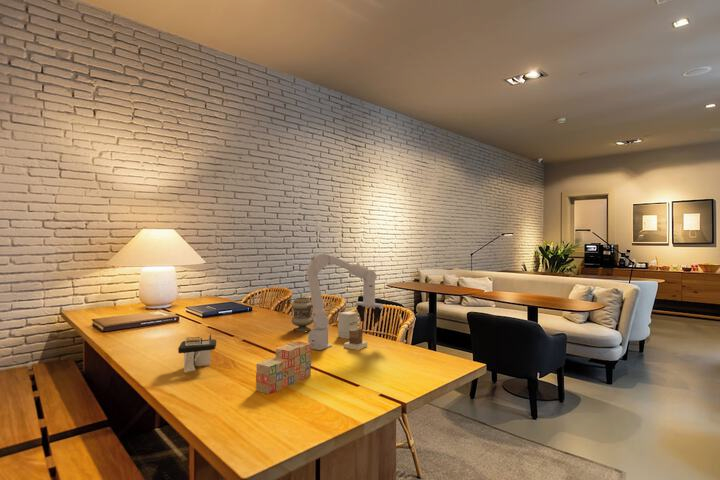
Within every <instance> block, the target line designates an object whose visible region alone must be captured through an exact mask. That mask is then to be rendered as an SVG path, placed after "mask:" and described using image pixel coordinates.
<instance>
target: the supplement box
mask: <svg viewBox="0 0 720 480" xmlns="http://www.w3.org/2000/svg"><path fill="white" fill-rule="evenodd" d="M337 320H338V321H337V322H338V324H337V326H338V327H337V328H338V329H337V337H338V338H341V339H346V340H349V330H351V329H354V328H355V329H358V312H357V311H356V312H355V311H343V312H341V311H340V312H338V316H337Z"/></svg>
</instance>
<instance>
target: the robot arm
mask: <svg viewBox="0 0 720 480" xmlns="http://www.w3.org/2000/svg"><path fill="white" fill-rule="evenodd" d="M328 265H329V266H333V265H334V266H337V267H339V268H342V269H345V270H347V271H348V273H349V274H350V275H352V276H353V277H354V276H355V277H356V278H359V279H362V280H363V285H362V286H363V287H362V288H363V293H362V295H363V297H362V298H363V299H362V301H355V306H356V307H355V308H356V312H357V314H358V315H359V318H360V322H364V321H365V312H366V308H372V312H373V322H374V324H377V323H378V321H379V317H380V315H381V313H382V311H383V309H384V304H383V303H378V302H376V280H377V278H378V276H377V273H376V271H374V270H372V269H369V267H368V266H363V265H360V262H356V263H355V262H353V263H349V262H347V261H344V260H343V259H341V258H338V257H336V256H334V255H329V254H326V253H321V252H317V253H315V254H314V255H313V256H312V257H311V258H310V262H309V264H308V267H307V269H306V275H307V277H306V278H307V280H308V281H307V282H308V287H309V292H310V299H311V302H312V304H313V307H312V312H313V313H312V314H313V315H312V317H313V322H312V323H314V324H313V326H312V328H311V331H309V332H308V340H307V341H308V342H307V343H310V344H311V350H317V351H321V350H324V349H327V348H330V347H332V346H333V345H332V344H329V324H330V320H329V317H328V315H327V314H326V311H325V308H324V303H323V297H322V291H321V287H320V281H319V273H320V272H321V271H322V270H323V269H324V268H326V267H327V266H328Z"/></svg>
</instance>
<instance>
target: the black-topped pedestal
mask: <svg viewBox="0 0 720 480" xmlns="http://www.w3.org/2000/svg"><path fill="white" fill-rule="evenodd" d="M216 348H217V339H213V338H212V333H210V335H208V339H203V338H202V337H201V336H195V337H194V336H193V337H187V338H186V340H184V341H182V342H181V343H180V345H179V347H178V349H177V351H178V354H183V359H184V361H183V364H184V365H183V372H184V373H185V374H186V373H190V372H195V371H196V367H200V366H203V367H204V366H211V351H213V350H215V349H216Z"/></svg>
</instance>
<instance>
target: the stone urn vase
mask: <svg viewBox="0 0 720 480" xmlns="http://www.w3.org/2000/svg"><path fill="white" fill-rule="evenodd" d="M291 308H292V309H293V317H292V318H291V324H293V325H294V326H296V327H295V328H294V329H293V331H294V332H295V331H296V332H295V333H306V332H305V331H309V332H310V330H311V331H312V328H311V327H308V326H310V325H311V324H313V323H314V322H313V315H312V309H313V304H312V300H311V297H308V296H307V297H302V296H301V297H299V296H298V297H295V298H294V301H293V302H292V304H291Z"/></svg>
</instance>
